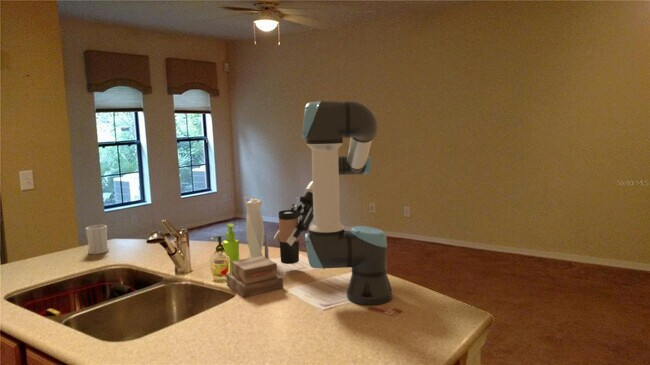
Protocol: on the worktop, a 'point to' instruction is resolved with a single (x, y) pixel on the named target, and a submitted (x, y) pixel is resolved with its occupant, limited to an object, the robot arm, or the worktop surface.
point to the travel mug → (286, 227)
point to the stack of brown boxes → (254, 276)
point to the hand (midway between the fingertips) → (282, 241)
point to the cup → (97, 239)
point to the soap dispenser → (231, 245)
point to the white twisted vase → (255, 228)
